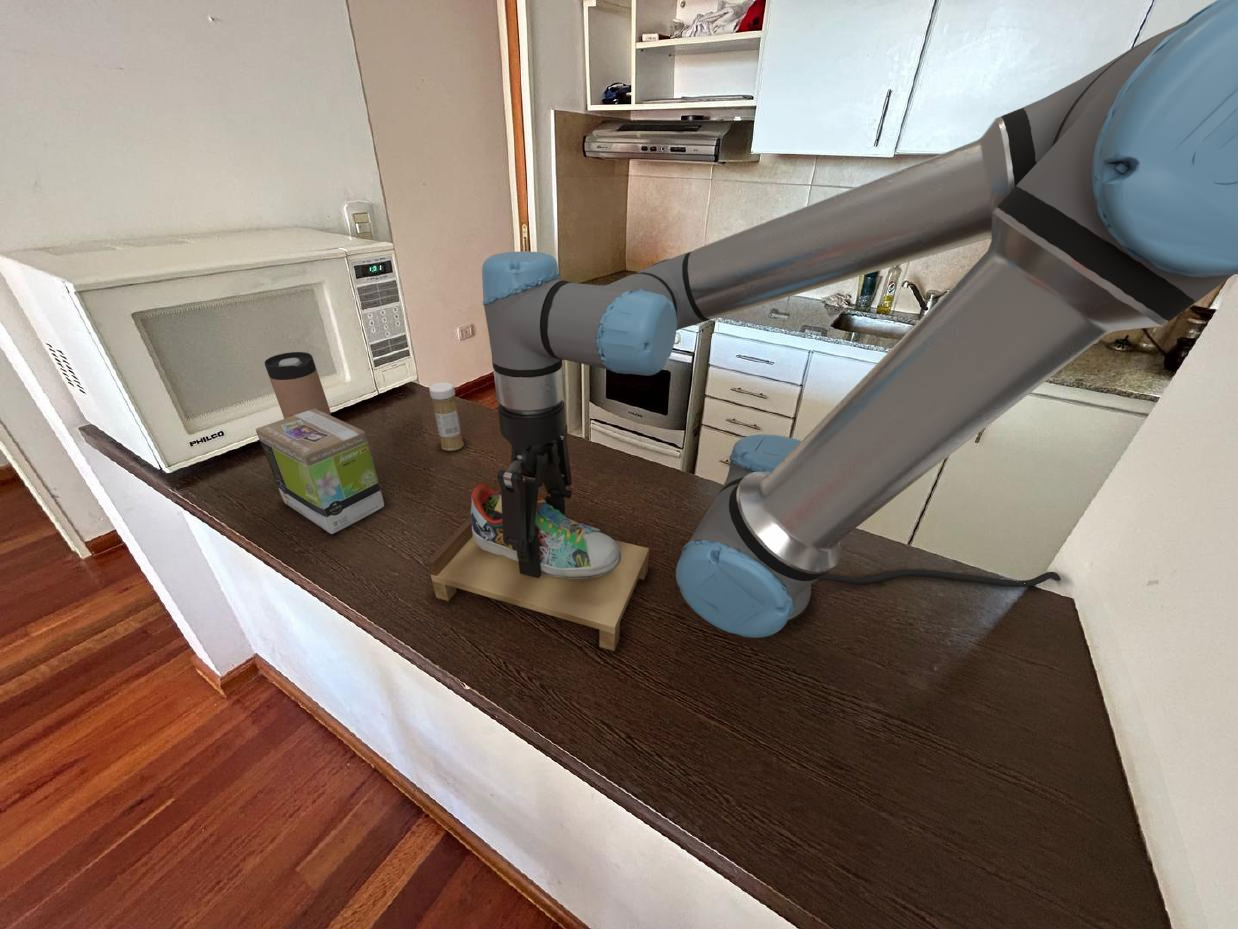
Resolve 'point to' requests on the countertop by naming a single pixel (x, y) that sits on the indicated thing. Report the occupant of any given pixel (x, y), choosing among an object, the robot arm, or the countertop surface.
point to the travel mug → (296, 383)
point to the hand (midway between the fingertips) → (544, 554)
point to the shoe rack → (540, 584)
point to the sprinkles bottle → (446, 415)
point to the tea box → (322, 468)
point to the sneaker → (546, 538)
